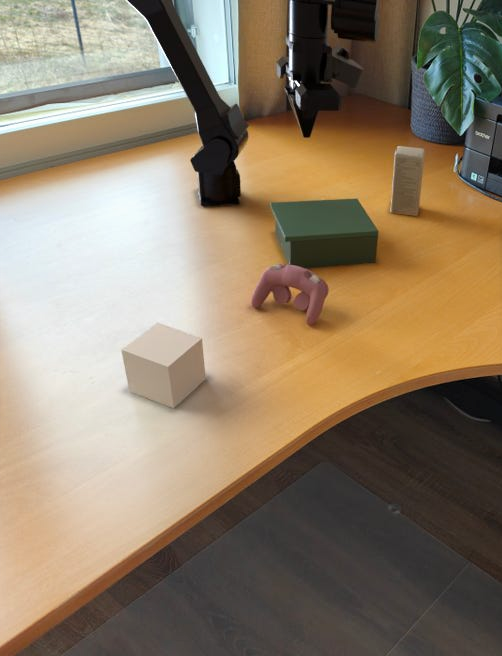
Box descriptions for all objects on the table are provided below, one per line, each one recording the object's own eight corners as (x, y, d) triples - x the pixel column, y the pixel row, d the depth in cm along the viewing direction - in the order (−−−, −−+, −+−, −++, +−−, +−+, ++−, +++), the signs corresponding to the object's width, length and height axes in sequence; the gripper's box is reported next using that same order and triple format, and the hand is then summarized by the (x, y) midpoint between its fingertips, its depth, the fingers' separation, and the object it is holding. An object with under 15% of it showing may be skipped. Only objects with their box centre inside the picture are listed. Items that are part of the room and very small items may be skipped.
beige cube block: (205, 378, 78) (202, 338, 75) (173, 408, 74) (168, 367, 70) (163, 362, 80) (157, 322, 76) (128, 391, 75) (121, 349, 71)
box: (419, 207, 123) (427, 148, 116) (417, 217, 119) (424, 157, 113) (391, 202, 123) (397, 144, 116) (388, 212, 119) (394, 152, 113)
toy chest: (290, 269, 100) (290, 241, 97) (275, 233, 108) (275, 206, 105) (375, 263, 105) (378, 235, 102) (355, 229, 113) (356, 203, 110)
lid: (285, 242, 97) (285, 237, 96) (270, 207, 105) (269, 202, 104) (378, 235, 102) (378, 231, 101) (357, 202, 110) (357, 198, 109)
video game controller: (324, 324, 92) (336, 276, 91) (311, 327, 88) (323, 276, 87) (261, 305, 94) (271, 257, 93) (246, 307, 90) (256, 256, 88)
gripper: (378, 52, 95) (370, 157, 105) (343, 21, 108) (338, 117, 118) (301, 50, 91) (300, 159, 101) (275, 18, 104) (276, 117, 114)
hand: (306, 136), depth 108 cm, fingers closed
